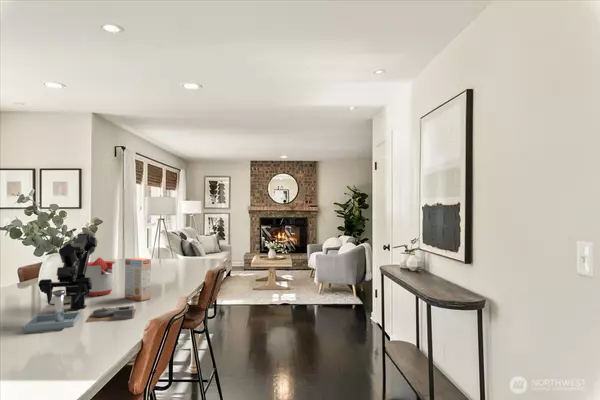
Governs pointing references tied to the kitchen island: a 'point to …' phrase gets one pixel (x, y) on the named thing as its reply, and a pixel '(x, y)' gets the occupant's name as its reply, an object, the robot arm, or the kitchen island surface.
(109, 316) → the plate
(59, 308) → the lock pin
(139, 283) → the cracker box
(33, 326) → the tray
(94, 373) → the kitchen island surface
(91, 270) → the citrus juicer
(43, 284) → the robot arm
